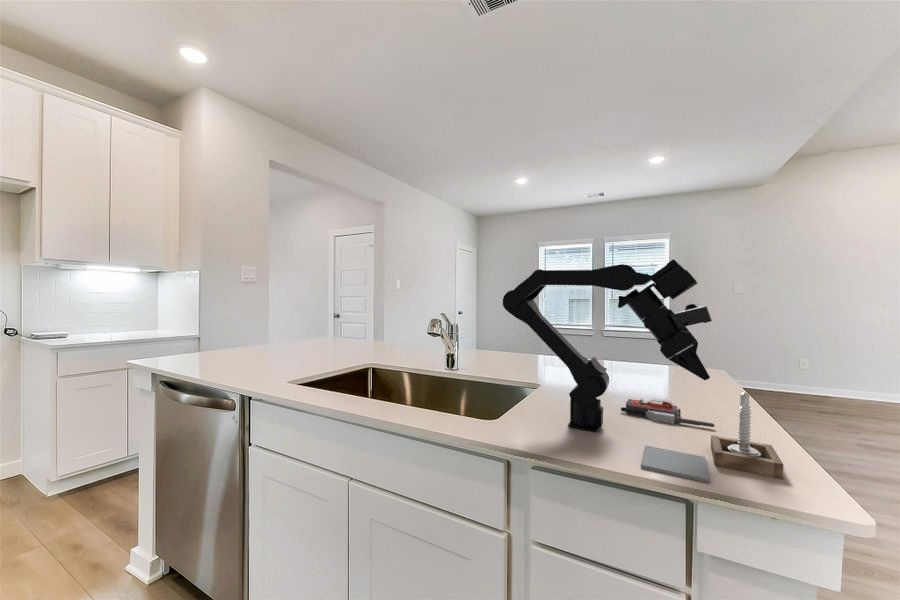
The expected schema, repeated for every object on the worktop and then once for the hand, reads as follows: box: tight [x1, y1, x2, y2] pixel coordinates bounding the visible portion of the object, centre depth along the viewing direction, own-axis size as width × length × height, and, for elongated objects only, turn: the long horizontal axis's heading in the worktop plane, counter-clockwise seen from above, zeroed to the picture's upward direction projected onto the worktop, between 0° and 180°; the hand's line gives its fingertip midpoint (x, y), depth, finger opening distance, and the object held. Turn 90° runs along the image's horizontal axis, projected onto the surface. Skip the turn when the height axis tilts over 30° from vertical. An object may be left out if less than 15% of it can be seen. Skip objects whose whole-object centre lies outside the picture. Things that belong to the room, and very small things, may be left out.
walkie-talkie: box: [620, 397, 715, 428], centre depth 94 cm, size 9×4×20 cm
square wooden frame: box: [710, 434, 784, 480], centre depth 69 cm, size 9×9×2 cm
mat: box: [640, 444, 710, 484], centre depth 68 cm, size 10×10×1 cm
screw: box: [728, 391, 761, 457], centre depth 69 cm, size 13×5×5 cm
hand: (705, 374), depth 76 cm, fingers open, 9 cm apart
